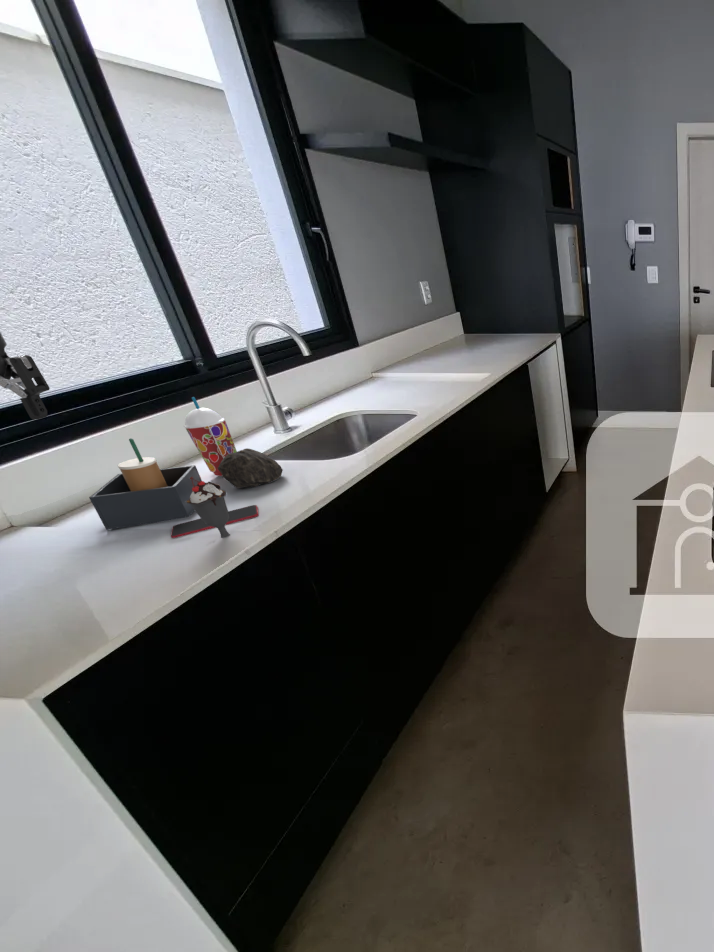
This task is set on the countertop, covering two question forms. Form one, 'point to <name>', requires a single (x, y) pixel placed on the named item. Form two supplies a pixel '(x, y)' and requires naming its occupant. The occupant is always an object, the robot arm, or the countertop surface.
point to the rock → (249, 468)
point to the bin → (146, 499)
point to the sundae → (210, 505)
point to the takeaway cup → (142, 472)
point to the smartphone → (201, 526)
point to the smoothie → (209, 436)
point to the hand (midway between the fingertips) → (13, 418)
